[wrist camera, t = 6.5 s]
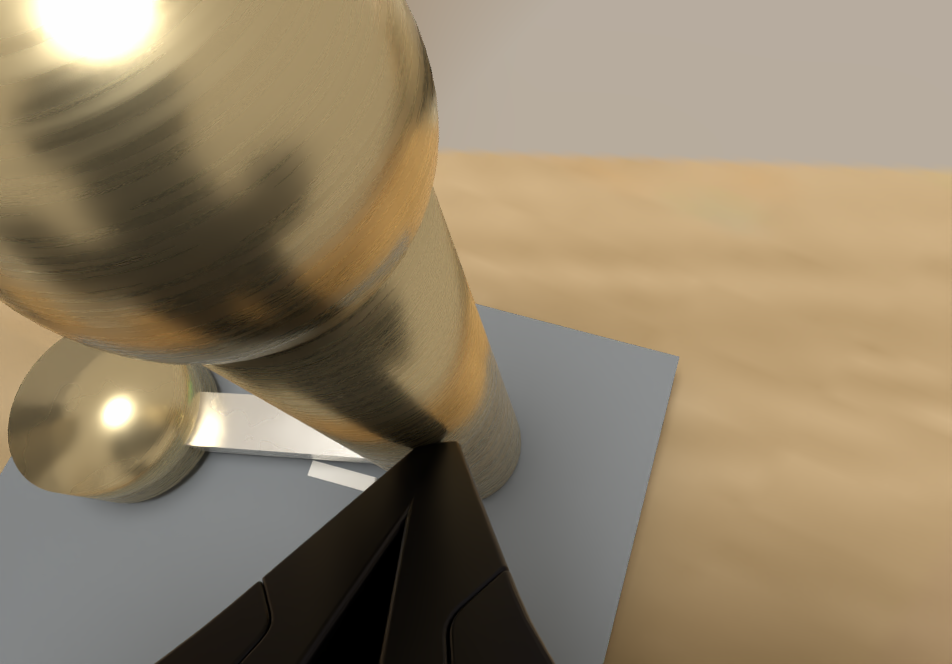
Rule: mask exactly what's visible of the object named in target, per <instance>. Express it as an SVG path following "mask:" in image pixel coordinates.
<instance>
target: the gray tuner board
mask: <svg viewBox="0 0 952 664" xmlns="http://www.w3.org/2000/svg"><path fill="white" fill-rule="evenodd" d="M475 305H476V307H477V310H478V313H479V316H480V319H481V321H482V324H483V327H484V330H485V332H486V335H487V338H488V341H489V344H490V346H491V349H492V352H493V355H494V357H495V360H496V363H497V366H498V368H499V371H500V374H501V377H502V380H503V382H504V385H505V388H506V391H507V393H508V396H509V399H510V402H511V404H512V407H513V410H514V413H515V416H516V418H517V421H518V424H519V428H520V434H521V450H520V455H519V459H518V462H517V465H516V467H515V469H514V471H513V473H512V475H511V476H510V478H509V479H508V480H507V482H506V483H505V484H504V485H503V486H502V487H501V488H500V489H499V490H497V491H496V492H495V493H493V494H492V495H490V496H488V497H486V498H484V499H482V502H483V504H484V507H485V509H486V512H487V514H488V517H489V519H490V522H491V524H492V527H493V530H494V532H495V535H496V537H497V540H498V542H499V545H500V547H501V550H502V553H503V555H504V558H505V560H506V563H507V565H508V568H509V572H510V573H511V575H512V577H513V580H514V582H515V585H516V588H517V590H518V593H519V595H520V597H521V599H522V601H523V604H524V606H525V608H526V610H527V613H528V615H529V617H530V619H531V621H532V623H533V625H534V627H535V629H536V630H537V632H538V634H539V636H540V638H541V640H542V641H543V643H544V645H545V647H546V649H547V650H548V652H549V654H550V656H551V657H552V659H553V660H554V662H555V664H603V663H604V659H605V655H606V651H607V647H608V643H609V639H610V635H611V631H612V627H613V623H614V619H615V615H616V611H617V607H618V603H619V599H620V594H621V590H622V586H623V582H624V578H625V574H626V570H627V566H628V562H629V558H630V554H631V550H632V546H633V542H634V538H635V534H636V530H637V526H638V522H639V518H640V514H641V510H642V506H643V502H644V498H645V494H646V489H647V485H648V481H649V477H650V473H651V469H652V465H653V461H654V457H655V453H656V449H657V445H658V441H659V437H660V433H661V429H662V425H663V421H664V417H665V413H666V409H667V405H668V401H669V397H670V393H671V388H672V384H673V380H674V376H675V372H676V368H677V364H678V360H679V357H678V356H674V355H670V354H666V353H663V352H659V351H655V350H651V349H647V348H643V347H640V346H636V345H632V344H628V343H624V342H620V341H617V340H613V339H609V338H605V337H601V336H597V335H593V334H590V333H586V332H582V331H578V330H574V329H570V328H567V327H563V326H559V325H555V324H551V323H547V322H544V321H540V320H536V319H532V318H528V317H524V316H520V315H517V314H513V313H509V312H505V311H501V310H497V309H494V308H490V307H486V306H482V305H478V304H475ZM208 370H209V371H210V373H211V375H212V377H213V379H214V382H215V384H216V387H217V393H232V394H250V395H253V394H252V393H250V392H248V391H246V390H245V389H243V388H241V387H239V386H238V385H236V384H234V383H232V382H231V381H229V380H227V379H225V378H224V377H222V376H220V375H218V374H217V373H215V372H213V371H211V370H210V369H208ZM386 472H387V471H386V470H384V469H382V468H381V467H379V466H377V465H375V464H369V463H356V462H343V461H329V460H316V459H303V458H289V457H276V456H263V455H250V454H236V453H223V452H210V451H205V453H204V455H203V456H202V458H201V459H200V461H199V462H198V463H197V465H196V466H195V467H194V468H193V469H192V470H191V472H190V473H189V474H188V475H187V476H186V477H185V478H183V479H182V480H181V481H180V482H179V483H178V484H176V485H175V486H174V487H172V488H171V489H169V490H168V491H166V492H164V493H162V494H160V495H158V496H156V497H153V498H151V499H148V500H144V501H141V502H135V503H115V502H109V501H103V500H97V499H91V498H85V497H79V496H73V495H67V494H61V493H55V492H50V491H47V490H44V489H41V488H39V487H37V486H35V485H34V484H32V483H31V482H29V481H28V480H27V479H26V478H25V477H24V476H23V475H22V474H21V472H20V471H19V470H18V468H17V467H16V465H15V463H14V461H13V458H12V456H11V458H10V459H9V461H8V463H7V464H6V466H5V468H4V469H3V471H2V473H1V474H0V664H155V663H156V662H157V661H159V660H160V659H161V658H163V657H164V656H165V655H167V654H168V653H169V652H171V651H172V650H173V649H174V648H176V647H177V646H178V645H180V644H181V643H182V642H184V641H185V640H186V639H188V638H189V637H190V636H192V635H193V634H194V633H196V632H197V631H198V630H199V629H201V628H202V627H203V626H204V625H206V624H207V623H208V622H209V621H211V620H212V619H213V618H214V617H215V616H217V615H218V614H219V613H220V612H222V611H223V610H224V609H225V608H226V607H228V606H229V605H230V604H231V603H233V602H234V601H235V600H236V599H237V598H239V597H240V596H241V595H242V594H243V593H244V592H246V591H247V590H248V589H249V588H250V587H252V586H253V585H254V584H255V583H256V582H258V581H261V582H262V578H263V577H264V576H265V575H266V574H267V573H268V572H269V571H271V570H272V569H273V568H274V567H275V566H276V565H278V564H279V563H280V562H281V561H282V560H284V559H285V558H286V557H287V556H288V555H289V554H291V553H292V552H293V551H294V550H295V549H296V548H298V547H299V546H300V545H301V544H302V543H304V542H305V541H306V540H307V539H308V538H309V537H311V536H312V535H313V534H314V533H315V532H316V531H318V530H319V529H320V528H321V527H322V526H324V525H325V524H326V523H327V522H328V521H329V520H331V519H332V518H333V517H334V516H335V515H336V514H338V513H339V512H340V511H341V510H342V509H344V508H345V507H346V506H347V505H348V504H349V503H351V502H352V501H353V500H354V499H355V498H356V497H358V496H359V495H360V494H361V493H362V492H363V491H365V490H366V489H367V488H368V487H369V486H371V485H372V484H373V483H374V482H375V481H376V480H378V479H379V478H380V477H381V476H382V475H383V474H385V473H386ZM262 583H263V582H262Z"/></svg>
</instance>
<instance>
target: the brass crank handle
mask: <svg viewBox="0 0 952 664" xmlns="http://www.w3.org/2000/svg"><path fill="white" fill-rule="evenodd" d="M438 142H439V127H438V110H437V98H436V91H435V86H434V81H433V75H432V70H431V67H430V63H429V59H428V56H427V52H426V48H425V45H424V43H423V40H422V37H421V35H420V32H419V29H418V26H417V24H416V21H415V19H414V17H413V15H412V13H411V11H410V9H409V7H408V5H407V3H406V1H405V0H0V301H2V302H3V303H5V304H6V305H7V306H9V307H10V308H12V309H13V310H14V311H16V312H18V313H19V314H21V315H23V316H25V317H26V318H28V319H30V320H32V321H33V322H35V323H37V324H39V325H40V326H42V327H44V328H46V329H48V330H50V331H52V332H55V333H57V334H59V335H61V336H63V337H64V338H62V339H61V340H59V341H58V342H57V343H55V344H54V345H53V346H52V347H51V348H49V349H48V350H47V351H46V352H45V353H44V354H43V355H42V356H41V357H40V358H39V360H38V361H37V362H36V363H35V364H34V365H33V367H32V368H31V370H30V371H29V372H28V374H27V375H26V377H25V378H24V380H23V382H22V384H21V385H20V387H19V390H18V392H17V394H16V396H15V399H14V402H13V405H12V408H11V412H10V417H9V425H8V442H9V448H10V452H11V455H12V458H13V461H14V463H15V465H16V467H17V468H18V470H19V471H20V472H21V474H22V475H23V476H24V477H25V478H26V479H27V480H28V481H29V482H31V483H32V484H34V485H35V486H37V487H39V488H41V489H44V490H47V491H50V492H55V493H61V494H67V495H73V496H79V497H85V498H91V499H97V500H103V501H109V502H115V503H135V502H141V501H144V500H148V499H151V498H153V497H156V496H158V495H160V494H162V493H164V492H166V491H168V490H169V489H171V488H172V487H174V486H175V485H176V484H178V483H179V482H180V481H181V480H182V479H183V478H185V477H186V476H187V475H188V474H189V473H190V472H191V470H192V469H193V468H194V467H195V466H196V465H197V463H198V462H199V461H200V459H201V458H202V456H203V455H204V453H205V451H210V452H223V453H236V454H250V455H263V456H276V457H289V458H303V459H316V460H329V461H343V462H356V463H369V464H375V465H377V466H379V467H381V468H382V469H384V470H386V471H388V470H389V469H391V468H392V467H393V466H394V465H395V464H396V463H398V462H399V461H400V460H401V459H402V458H403V457H405V456H406V455H407V454H408V453H409V452H411V451H412V450H413V449H414V448H417V447H420V446H424V445H428V444H431V443H435V442H448V441H457V442H459V443H460V445H461V448H462V451H463V453H464V456H465V458H466V461H467V463H468V466H469V468H470V471H471V473H472V476H473V479H474V481H475V484H476V486H477V489H478V491H479V494H480V496H481V499H484V498H486V497H488V496H490V495H492V494H493V493H495V492H496V491H497V490H499V489H500V488H501V487H502V486H503V485H504V484H505V483H506V482H507V480H508V479H509V478H510V476H511V475H512V473H513V471H514V469H515V467H516V465H517V462H518V459H519V455H520V450H521V434H520V428H519V424H518V421H517V418H516V416H515V413H514V410H513V407H512V404H511V402H510V399H509V396H508V393H507V391H506V388H505V385H504V382H503V380H502V377H501V374H500V371H499V368H498V366H497V363H496V360H495V357H494V355H493V352H492V349H491V346H490V344H489V341H488V338H487V335H486V332H485V330H484V327H483V324H482V321H481V319H480V316H479V313H478V310H477V307H476V305H475V302H474V299H473V296H472V294H471V291H470V288H469V285H468V283H467V280H466V277H465V274H464V271H463V269H462V266H461V263H460V260H459V258H458V255H457V252H456V249H455V246H454V244H453V241H452V238H451V235H450V233H449V230H448V227H447V224H446V222H445V219H444V216H443V213H442V210H441V208H440V205H439V202H438V199H437V197H436V194H435V191H434V188H433V181H434V176H435V171H436V166H437V156H438ZM208 369H210V370H211V371H213V372H215V373H217V374H218V375H220V376H222V377H224V378H225V379H227V380H229V381H231V382H232V383H234V384H236V385H238V386H239V387H241V388H243V389H245V390H246V391H248V392H250V393H252V394H253V395H250V394H232V393H217V387H216V384H215V382H214V379H213V377H212V375H211V373H210V371H209V370H208Z"/></svg>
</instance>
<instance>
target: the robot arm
mask: <svg viewBox="0 0 952 664" xmlns="http://www.w3.org/2000/svg"><path fill="white" fill-rule="evenodd" d="M262 582H263V583H262ZM262 582H261V581H258V582H256V583H255V584H254V585H253V586H252V587H250V588H249V589H248V590H247V591H246V592H244V593H243V594H242V595H241V596H240V597H239V598H237V599H236V600H235V601H234V602H233V603H231V604H230V605H229V606H228V607H226V608H225V609H224V610H223V611H222V612H220V613H219V614H218V615H217V616H215V617H214V618H213V619H212V620H211V621H209V622H208V623H207V624H206V625H204V626H203V627H202V628H201V629H199V630H198V631H197V632H196V633H194V634H193V635H192V636H190V637H189V638H188V639H186V640H185V641H184V642H182V643H181V644H180V645H178V646H177V647H176V648H174V649H173V650H172V651H171V652H169V653H168V654H167V655H165V656H164V657H163V658H161V659H160V660H159V661H157V662H156V663H155V664H555V662H554V660H553V659H552V657H551V656H550V654H549V652H548V650H547V649H546V647H545V645H544V643H543V641H542V640H541V638H540V636H539V634H538V632H537V630H536V629H535V627H534V625H533V623H532V621H531V619H530V617H529V615H528V613H527V610H526V608H525V606H524V604H523V601H522V599H521V597H520V595H519V593H518V590H517V588H516V585H515V582H514V580H513V577H512V575H511V573H510V572H509V568H508V565H507V563H506V560H505V558H504V555H503V553H502V550H501V547H500V545H499V542H498V540H497V537H496V535H495V532H494V530H493V527H492V524H491V522H490V519H489V517H488V514H487V512H486V509H485V507H484V504H483V502H482V499H481V496H480V494H479V491H478V489H477V486H476V484H475V481H474V479H473V476H472V473H471V471H470V468H469V466H468V463H467V461H466V458H465V456H464V453H463V451H462V448H461V445H460V443H459V442H457V441H448V442H435V443H431V444H428V445H424V446H420V447H417V448H414V449H413V450H412V451H411V452H409V453H408V454H407V455H406V456H405V457H403V458H402V459H401V460H400V461H399V462H398V463H396V464H395V465H394V466H393V467H392V468H391V469H389V470H388V471H387V472H386V473H385V474H383V475H382V476H381V477H380V478H379V479H378V480H376V481H375V482H374V483H373V484H372V485H371V486H369V487H368V488H367V489H366V490H365V491H363V492H362V493H361V494H360V495H359V496H358V497H356V498H355V499H354V500H353V501H352V502H351V503H349V504H348V505H347V506H346V507H345V508H344V509H342V510H341V511H340V512H339V513H338V514H336V515H335V516H334V517H333V518H332V519H331V520H329V521H328V522H327V523H326V524H325V525H324V526H322V527H321V528H320V529H319V530H318V531H316V532H315V533H314V534H313V535H312V536H311V537H309V538H308V539H307V540H306V541H305V542H304V543H302V544H301V545H300V546H299V547H298V548H296V549H295V550H294V551H293V552H292V553H291V554H289V555H288V556H287V557H286V558H285V559H284V560H282V561H281V562H280V563H279V564H278V565H276V566H275V567H274V568H273V569H272V570H271V571H269V572H268V573H267V574H266V575H265V576H264V577H263V578H262Z"/></svg>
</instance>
